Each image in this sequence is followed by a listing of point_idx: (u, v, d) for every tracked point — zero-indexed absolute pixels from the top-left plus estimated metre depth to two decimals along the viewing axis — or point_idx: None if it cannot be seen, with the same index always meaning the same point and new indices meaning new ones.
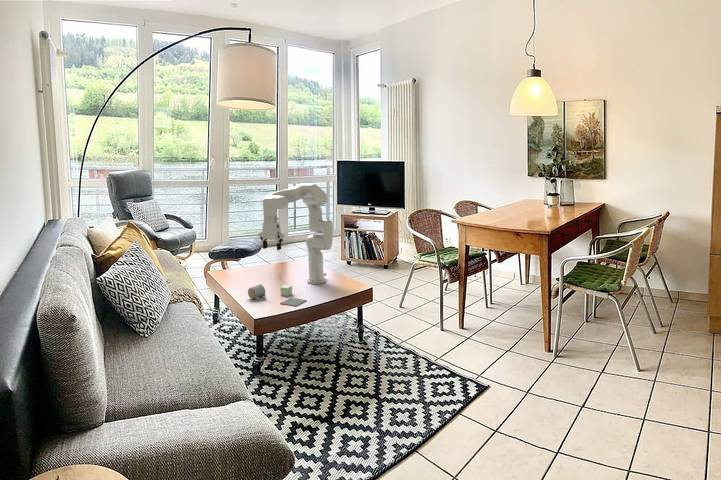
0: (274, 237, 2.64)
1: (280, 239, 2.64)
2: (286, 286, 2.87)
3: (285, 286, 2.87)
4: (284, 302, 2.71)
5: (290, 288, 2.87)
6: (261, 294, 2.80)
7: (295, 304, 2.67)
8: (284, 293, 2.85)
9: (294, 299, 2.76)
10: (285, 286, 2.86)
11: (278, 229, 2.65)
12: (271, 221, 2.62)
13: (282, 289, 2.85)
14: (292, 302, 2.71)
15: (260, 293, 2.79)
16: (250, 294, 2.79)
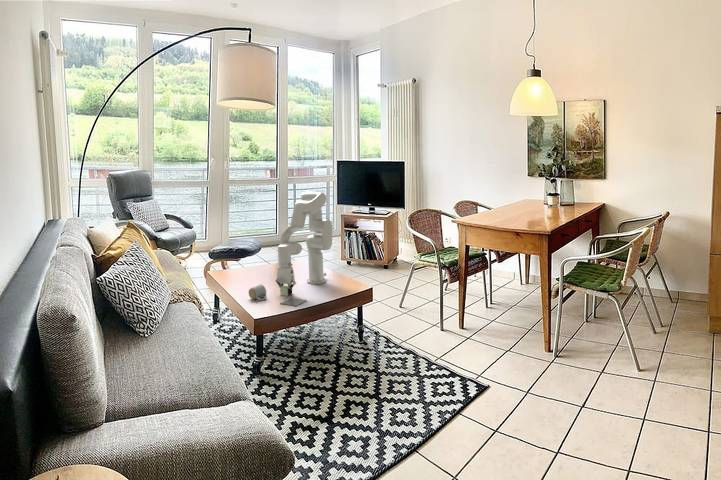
0: (288, 282, 2.83)
1: (291, 285, 2.83)
2: (286, 286, 2.87)
3: (285, 286, 2.87)
4: (284, 302, 2.71)
5: None
6: (262, 294, 2.79)
7: (295, 304, 2.67)
8: (284, 293, 2.85)
9: (294, 299, 2.76)
10: (285, 286, 2.86)
11: (292, 274, 2.83)
12: (285, 267, 2.81)
13: (282, 289, 2.85)
14: (292, 302, 2.71)
15: (261, 293, 2.79)
16: (251, 294, 2.78)
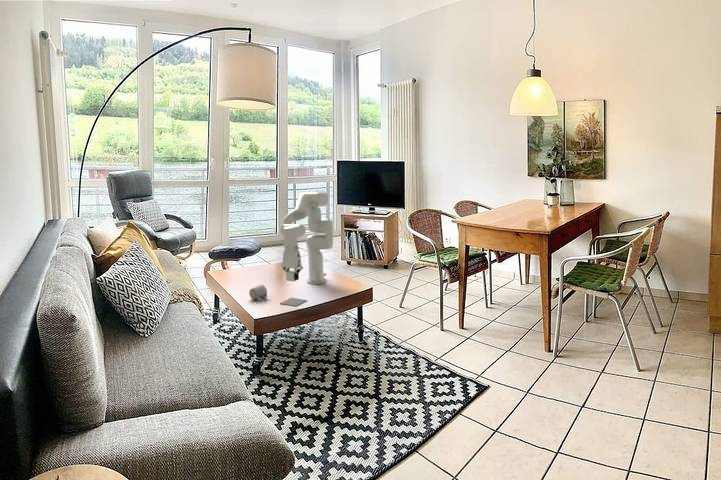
0: (295, 266, 2.65)
1: (298, 270, 2.65)
2: (292, 271, 2.69)
3: (291, 271, 2.69)
4: (284, 302, 2.71)
5: None
6: (263, 295, 2.79)
7: (295, 304, 2.67)
8: (290, 278, 2.67)
9: (294, 299, 2.76)
10: (291, 271, 2.68)
11: (299, 258, 2.65)
12: (292, 250, 2.63)
13: (288, 274, 2.67)
14: (292, 302, 2.71)
15: (262, 294, 2.78)
16: (252, 294, 2.78)
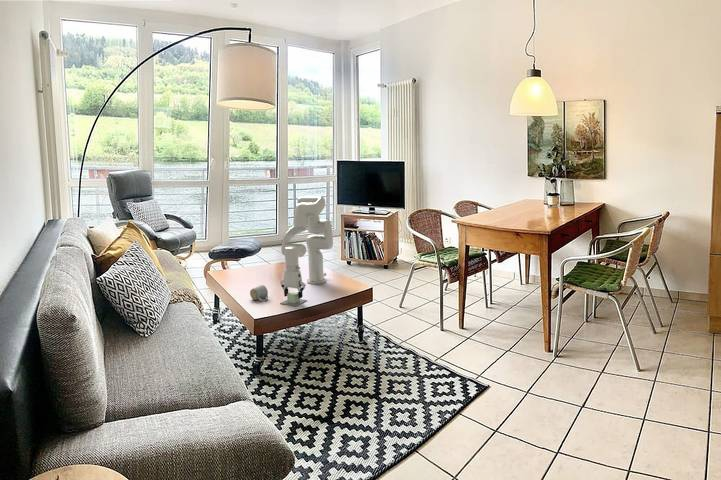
0: (296, 286, 2.67)
1: (302, 288, 2.67)
2: (293, 293, 2.72)
3: (292, 293, 2.72)
4: (284, 302, 2.71)
5: (297, 295, 2.71)
6: (263, 295, 2.78)
7: (295, 304, 2.67)
8: (291, 300, 2.70)
9: None
10: (292, 293, 2.71)
11: (299, 278, 2.68)
12: (293, 270, 2.65)
13: (289, 296, 2.70)
14: None
15: (262, 294, 2.77)
16: (252, 295, 2.77)
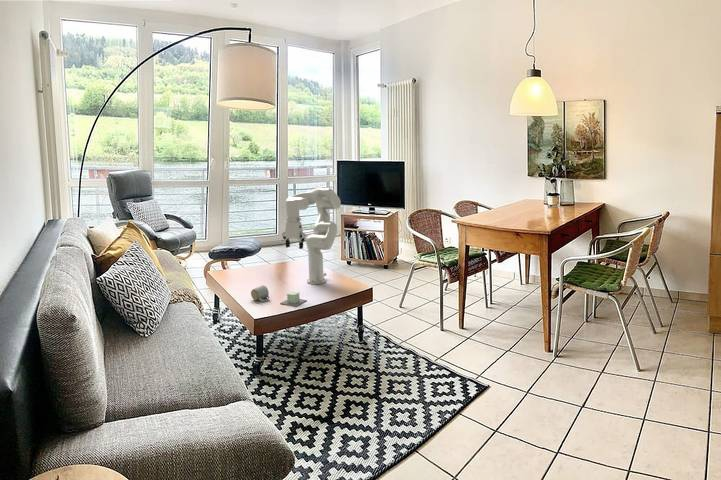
0: (297, 236, 2.80)
1: (302, 238, 2.80)
2: (293, 293, 2.72)
3: (292, 293, 2.72)
4: (284, 302, 2.71)
5: (297, 295, 2.71)
6: (264, 295, 2.77)
7: (295, 304, 2.67)
8: (291, 300, 2.70)
9: None
10: (292, 293, 2.71)
11: (300, 229, 2.81)
12: (294, 221, 2.78)
13: (289, 296, 2.70)
14: None
15: (263, 294, 2.77)
16: (253, 295, 2.76)
